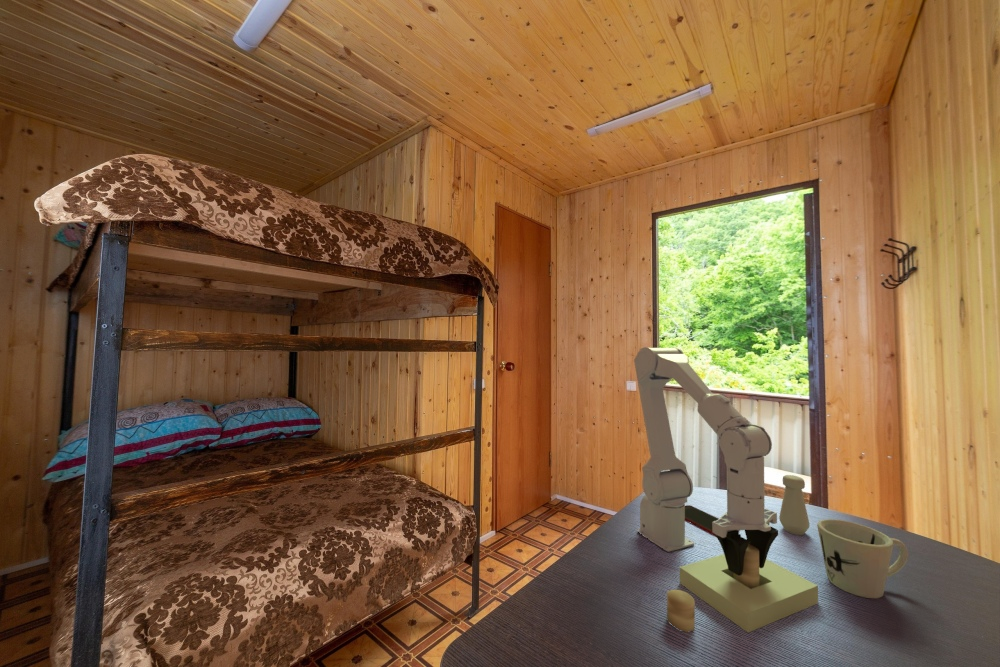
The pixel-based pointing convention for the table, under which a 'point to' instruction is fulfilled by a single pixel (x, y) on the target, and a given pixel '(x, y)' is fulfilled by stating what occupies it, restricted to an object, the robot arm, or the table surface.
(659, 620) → the table surface
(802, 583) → the hole board
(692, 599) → the short peg
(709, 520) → the cell phone
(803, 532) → the salt shaker
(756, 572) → the tall peg
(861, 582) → the mug
